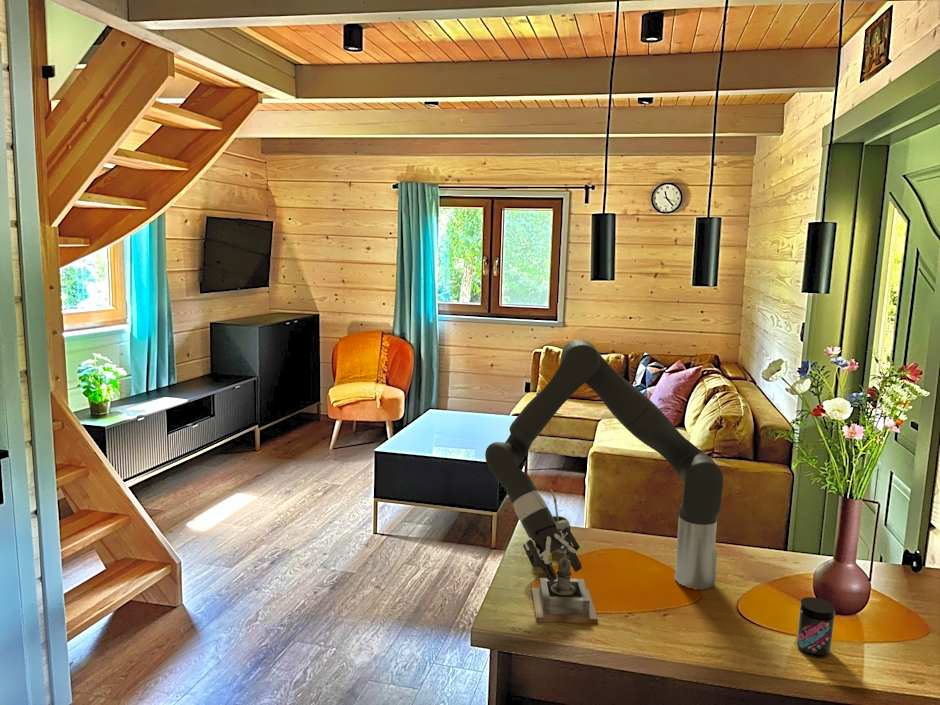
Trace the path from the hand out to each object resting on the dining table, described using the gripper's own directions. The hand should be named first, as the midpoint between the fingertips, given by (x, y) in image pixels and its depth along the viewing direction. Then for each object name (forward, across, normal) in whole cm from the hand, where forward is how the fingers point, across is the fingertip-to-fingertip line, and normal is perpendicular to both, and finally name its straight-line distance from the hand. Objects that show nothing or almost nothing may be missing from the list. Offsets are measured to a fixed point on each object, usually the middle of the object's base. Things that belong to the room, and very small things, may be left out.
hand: (566, 575), depth 170 cm
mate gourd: (-12, +24, +24) cm, 36 cm away
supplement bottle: (-9, +13, +21) cm, 26 cm away
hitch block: (+5, 0, +6) cm, 8 cm away
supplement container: (+38, +30, -26) cm, 54 cm away
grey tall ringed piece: (+5, 0, +6) cm, 8 cm away
